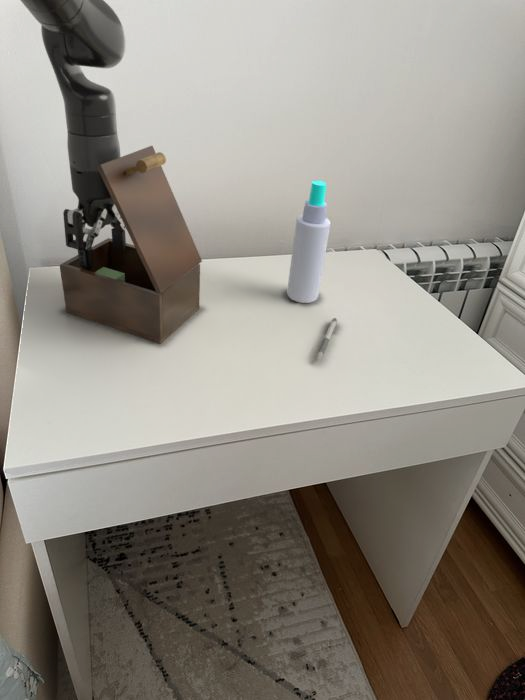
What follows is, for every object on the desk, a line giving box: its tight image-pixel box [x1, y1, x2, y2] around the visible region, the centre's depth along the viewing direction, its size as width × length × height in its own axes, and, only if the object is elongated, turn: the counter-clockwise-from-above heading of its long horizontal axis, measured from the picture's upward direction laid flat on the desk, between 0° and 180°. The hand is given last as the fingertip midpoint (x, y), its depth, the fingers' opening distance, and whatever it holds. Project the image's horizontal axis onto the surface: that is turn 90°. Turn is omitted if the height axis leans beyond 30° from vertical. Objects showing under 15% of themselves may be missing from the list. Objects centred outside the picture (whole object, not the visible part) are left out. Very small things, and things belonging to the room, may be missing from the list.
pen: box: [316, 317, 338, 362], centre depth 90 cm, size 1×14×1 cm, turn 162°
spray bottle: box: [286, 180, 331, 304], centre depth 97 cm, size 6×6×22 cm
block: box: [94, 267, 125, 282], centre depth 93 cm, size 4×4×4 cm
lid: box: [97, 145, 203, 294], centre depth 81 cm, size 20×13×5 cm
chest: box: [59, 237, 201, 345], centre depth 91 cm, size 19×13×9 cm
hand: (104, 259), depth 90 cm, fingers open, 8 cm apart
